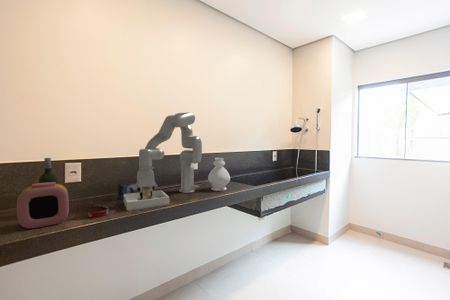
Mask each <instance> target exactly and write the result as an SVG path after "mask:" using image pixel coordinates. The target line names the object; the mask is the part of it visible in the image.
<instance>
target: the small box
mask: <svg viewBox="0 0 450 300" xmlns="http://www.w3.org/2000/svg"><path fill="white" fill-rule="evenodd" d="M136 183H137V182H135V181H124V182H118V183H117V199H118V200H120V201H124V200H123V199H124V194H131V193H137V189H135V188H134V186H135V184H136Z"/></svg>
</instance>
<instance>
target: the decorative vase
mask: <svg viewBox="0 0 450 300" xmlns="http://www.w3.org/2000/svg"><path fill="white" fill-rule="evenodd" d="M224 159H225V158H224V157H215V158H214V161H213V166H214V167H213V168H212V169H211V171H210V172H209V174H208V177H207V181H208V182H209V183H210V185H211V186H212V187H210V188H211V190H213V191H217V192H219V191H223V192H224V191H227V190H228V188H227V187H226V186H228V184H229V182H230V181H231V176H230V173H229V171H228V170H227V169H226V168H225V167H224V166H225V165H226V162H225V160H224Z"/></svg>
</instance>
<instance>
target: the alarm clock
mask: <svg viewBox="0 0 450 300" xmlns="http://www.w3.org/2000/svg"><path fill="white" fill-rule="evenodd" d="M16 199H17V201H16V214H17V215H16V217H17V221H18V224H19V225H21V227H22V228H25V229H37V228H43V227H49V226H55V225H58V224H60V223H62V222H63V221H65V220H66V219H67V217H68V216H69V212H70V206H69V205H70V203H69V191H68V189H67V187H65V185H63V184H61V183H58V184H56V182H46V183H39V182H37V183H32V184H31V186H27V187H25V188H24V189H22V191H21V193H20V194H19V196H18V197H17V198H16Z"/></svg>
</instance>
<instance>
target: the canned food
mask: <svg viewBox="0 0 450 300" xmlns="http://www.w3.org/2000/svg"><path fill="white" fill-rule="evenodd" d="M88 204H91V205H94V206H96V207H93V208H89V209H88V210H87V211H86V212H87V218H89V219H99V218H103V217H106V216H108V215H109V207H108V206H103V205H99V204H96V203H95V202H93V201H91V200H88Z"/></svg>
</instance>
